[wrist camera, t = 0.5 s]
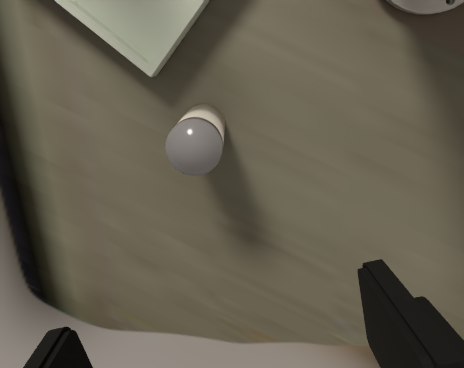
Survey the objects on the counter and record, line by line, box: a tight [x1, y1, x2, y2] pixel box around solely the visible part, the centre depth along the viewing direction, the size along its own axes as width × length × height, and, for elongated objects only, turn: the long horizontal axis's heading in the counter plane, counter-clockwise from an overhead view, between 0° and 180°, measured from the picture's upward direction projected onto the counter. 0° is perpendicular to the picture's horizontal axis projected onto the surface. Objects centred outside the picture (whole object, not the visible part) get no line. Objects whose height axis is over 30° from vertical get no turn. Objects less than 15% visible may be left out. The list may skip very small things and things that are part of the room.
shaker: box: [165, 104, 225, 176], centre depth 33 cm, size 5×5×11 cm
